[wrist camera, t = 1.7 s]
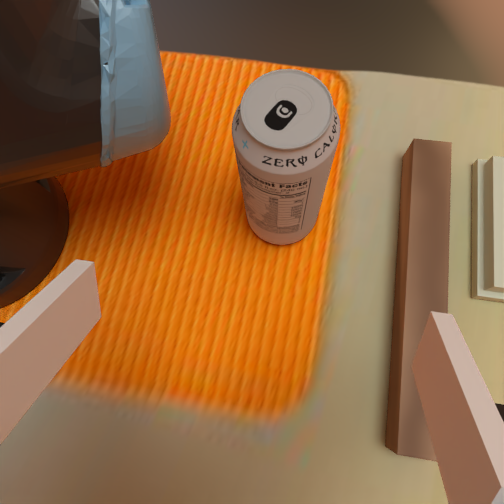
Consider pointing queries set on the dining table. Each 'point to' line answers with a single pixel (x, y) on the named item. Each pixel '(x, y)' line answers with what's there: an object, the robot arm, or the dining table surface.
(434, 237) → the walnut sill
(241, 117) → the energy drink can
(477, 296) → the keeper plate
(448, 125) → the dining table surface
